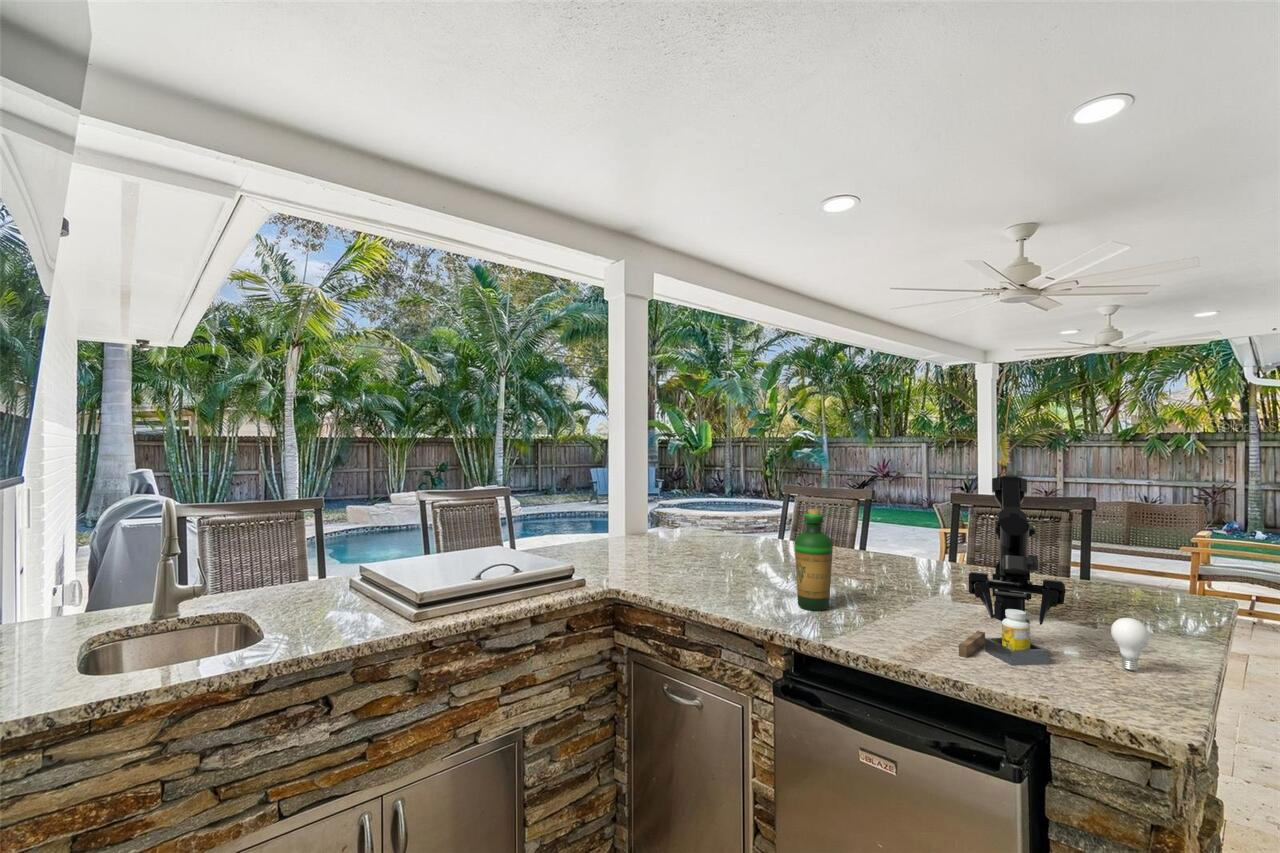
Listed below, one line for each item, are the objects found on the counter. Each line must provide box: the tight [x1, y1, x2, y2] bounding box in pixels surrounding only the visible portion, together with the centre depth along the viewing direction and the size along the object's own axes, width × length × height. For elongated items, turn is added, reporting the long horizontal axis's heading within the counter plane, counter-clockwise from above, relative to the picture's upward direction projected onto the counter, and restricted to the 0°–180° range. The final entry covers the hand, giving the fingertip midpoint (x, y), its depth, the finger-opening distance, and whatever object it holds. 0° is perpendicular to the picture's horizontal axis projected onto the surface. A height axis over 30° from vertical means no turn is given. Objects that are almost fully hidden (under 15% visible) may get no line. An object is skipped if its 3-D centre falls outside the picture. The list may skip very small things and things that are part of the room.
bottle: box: [794, 508, 834, 612], centre depth 175 cm, size 11×11×28 cm
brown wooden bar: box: [958, 630, 986, 659], centre depth 141 cm, size 14×2×2 cm, turn 136°
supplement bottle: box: [1001, 609, 1031, 650], centre depth 136 cm, size 5×5×10 cm
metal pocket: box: [984, 637, 1050, 666], centre depth 136 cm, size 9×9×3 cm
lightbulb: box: [1110, 617, 1150, 672], centre depth 129 cm, size 6×6×11 cm
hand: (1016, 620), depth 135 cm, fingers open, 9 cm apart
